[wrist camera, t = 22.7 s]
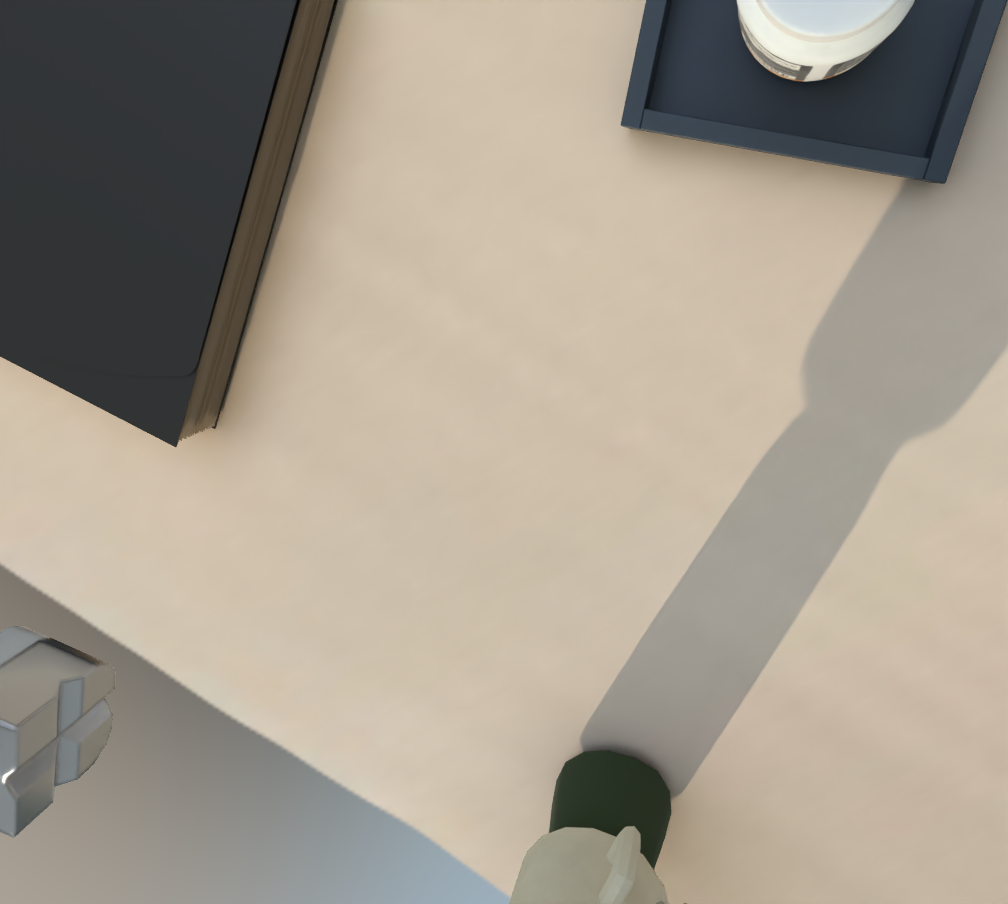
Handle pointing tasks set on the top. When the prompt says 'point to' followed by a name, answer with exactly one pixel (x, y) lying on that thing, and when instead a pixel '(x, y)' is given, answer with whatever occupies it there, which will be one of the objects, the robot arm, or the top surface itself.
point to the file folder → (144, 190)
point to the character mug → (599, 836)
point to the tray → (815, 88)
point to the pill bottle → (816, 33)
